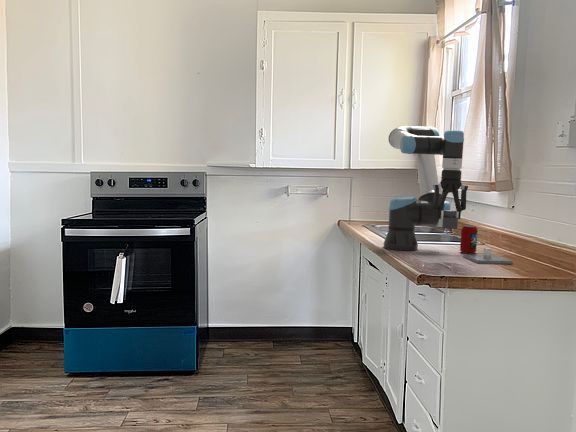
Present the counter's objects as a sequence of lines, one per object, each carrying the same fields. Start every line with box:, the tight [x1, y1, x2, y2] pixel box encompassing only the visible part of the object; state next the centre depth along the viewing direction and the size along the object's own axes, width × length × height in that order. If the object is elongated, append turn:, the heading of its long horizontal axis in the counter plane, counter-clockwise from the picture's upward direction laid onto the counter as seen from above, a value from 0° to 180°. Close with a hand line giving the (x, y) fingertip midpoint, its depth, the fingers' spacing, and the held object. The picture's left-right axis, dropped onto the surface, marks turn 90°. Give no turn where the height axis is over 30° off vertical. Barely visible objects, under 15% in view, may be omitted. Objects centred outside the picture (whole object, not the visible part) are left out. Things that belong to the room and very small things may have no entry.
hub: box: [462, 247, 514, 265], centre depth 203 cm, size 14×14×5 cm
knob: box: [440, 209, 459, 230], centre depth 203 cm, size 5×5×7 cm
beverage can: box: [459, 224, 479, 254], centre depth 221 cm, size 7×7×12 cm
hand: (448, 227), depth 203 cm, fingers closed on knob, 5 cm apart
